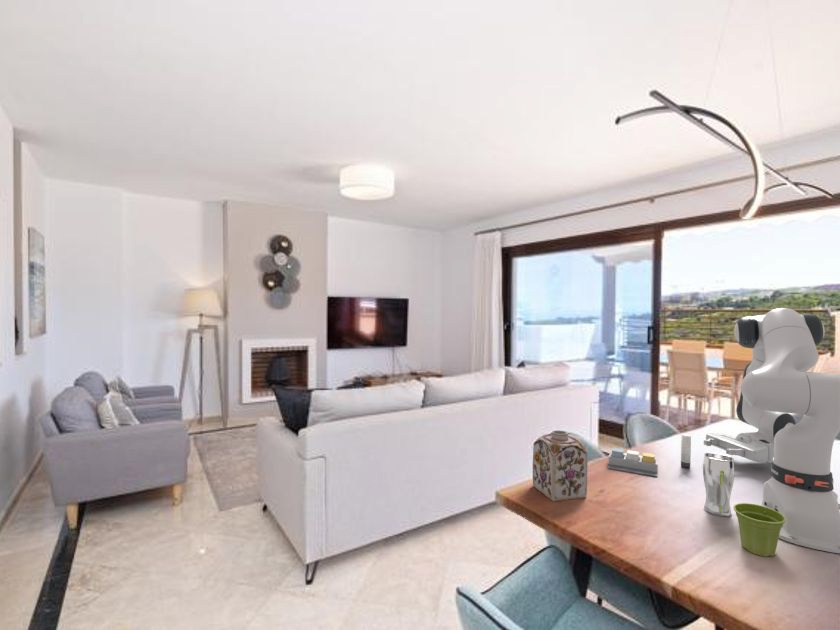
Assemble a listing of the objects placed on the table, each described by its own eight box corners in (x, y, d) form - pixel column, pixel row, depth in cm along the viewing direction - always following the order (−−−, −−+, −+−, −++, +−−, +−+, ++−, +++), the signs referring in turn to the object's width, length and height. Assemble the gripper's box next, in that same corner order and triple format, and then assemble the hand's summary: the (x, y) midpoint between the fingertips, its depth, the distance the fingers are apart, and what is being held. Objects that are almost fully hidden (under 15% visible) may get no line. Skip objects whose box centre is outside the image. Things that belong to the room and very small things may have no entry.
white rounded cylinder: (690, 469, 148) (691, 437, 148) (681, 467, 150) (681, 436, 149) (690, 466, 151) (690, 435, 151) (680, 465, 152) (681, 434, 152)
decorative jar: (552, 502, 122) (553, 439, 122) (531, 486, 133) (532, 427, 133) (588, 498, 125) (589, 436, 125) (565, 482, 136) (566, 425, 136)
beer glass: (703, 513, 116) (704, 458, 116) (700, 503, 122) (702, 450, 122) (735, 519, 113) (736, 462, 113) (730, 509, 119) (732, 454, 119)
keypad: (657, 477, 141) (657, 468, 141) (607, 468, 148) (607, 459, 148) (657, 464, 152) (657, 456, 152) (611, 457, 160) (611, 449, 159)
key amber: (654, 466, 145) (654, 457, 145) (642, 464, 147) (642, 455, 147) (654, 462, 148) (654, 454, 148) (642, 461, 150) (642, 452, 150)
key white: (638, 463, 148) (638, 454, 148) (626, 461, 149) (626, 453, 149) (638, 460, 151) (639, 451, 151) (627, 458, 153) (627, 450, 153)
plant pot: (786, 567, 92) (787, 526, 92) (732, 551, 98) (732, 513, 98) (783, 548, 100) (784, 510, 100) (733, 534, 106) (734, 499, 105)
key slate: (622, 461, 150) (623, 452, 150) (611, 459, 152) (611, 450, 152) (623, 457, 153) (623, 449, 153) (612, 456, 155) (612, 447, 155)
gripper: (724, 428, 165) (692, 430, 162) (777, 445, 145) (742, 447, 142) (724, 444, 165) (692, 446, 163) (777, 464, 145) (741, 466, 142)
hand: (716, 447), depth 152 cm, fingers open, 8 cm apart
